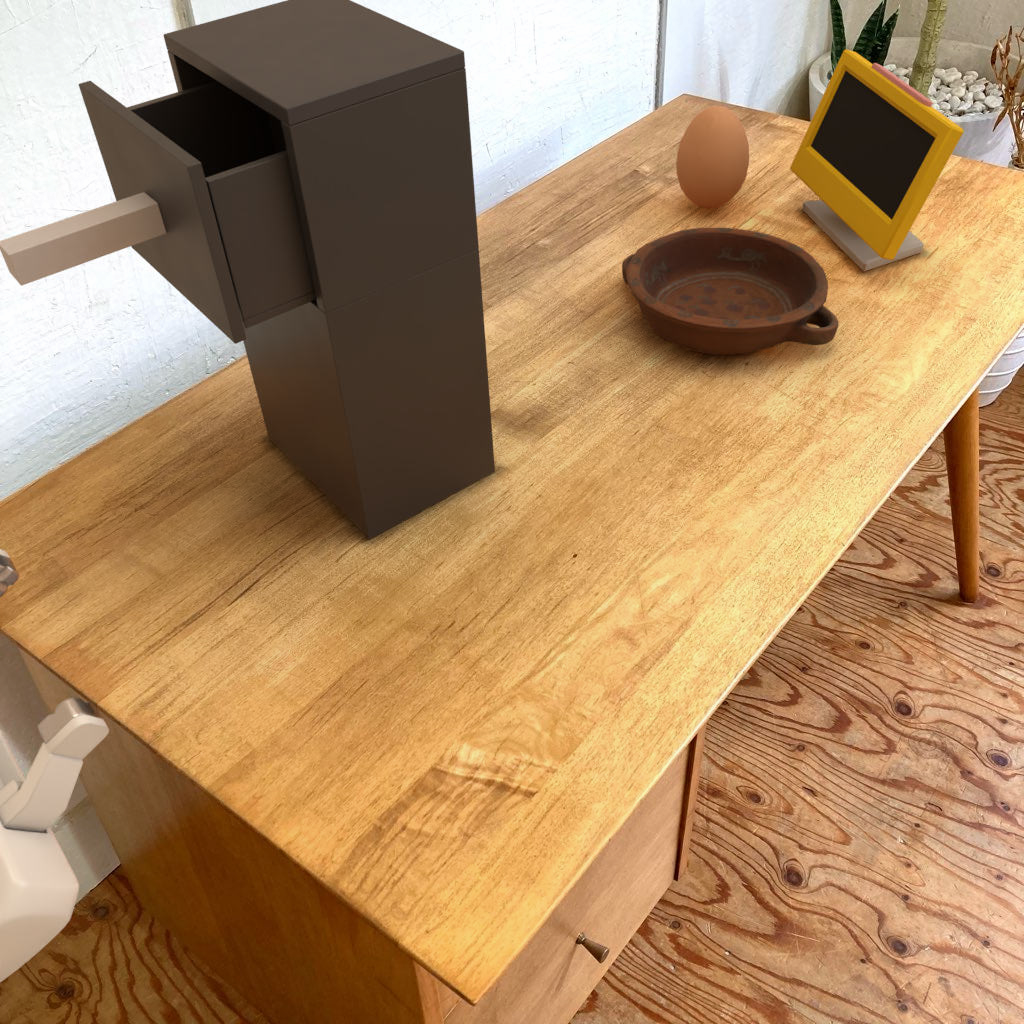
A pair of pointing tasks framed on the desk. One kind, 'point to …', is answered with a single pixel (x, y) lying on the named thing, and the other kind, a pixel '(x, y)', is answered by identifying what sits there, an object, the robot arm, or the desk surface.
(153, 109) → the drawer
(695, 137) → the egg
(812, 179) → the toy computer monitor
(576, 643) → the desk surface
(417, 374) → the cabinet
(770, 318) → the dish
